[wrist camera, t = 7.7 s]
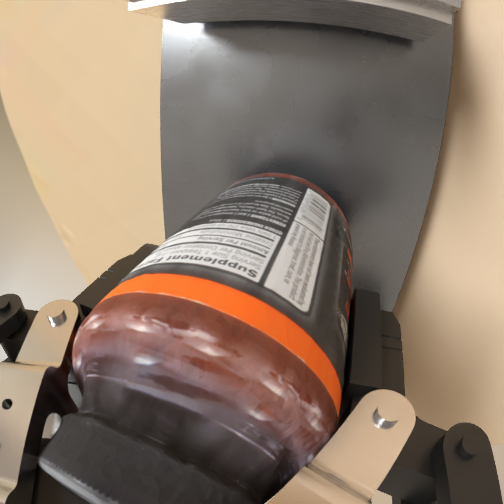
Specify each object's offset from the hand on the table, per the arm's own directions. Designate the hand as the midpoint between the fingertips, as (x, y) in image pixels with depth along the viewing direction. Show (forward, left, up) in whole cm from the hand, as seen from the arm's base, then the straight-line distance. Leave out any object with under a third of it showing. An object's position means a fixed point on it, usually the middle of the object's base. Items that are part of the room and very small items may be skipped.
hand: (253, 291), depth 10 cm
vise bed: (+5, 0, -6) cm, 8 cm away
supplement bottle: (0, 0, -4) cm, 4 cm away
